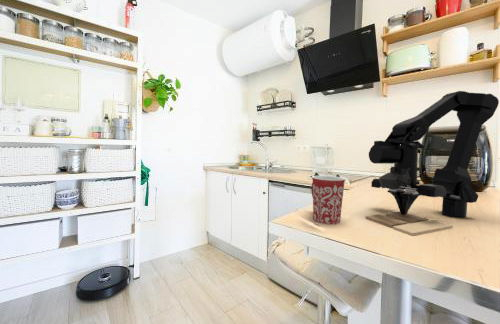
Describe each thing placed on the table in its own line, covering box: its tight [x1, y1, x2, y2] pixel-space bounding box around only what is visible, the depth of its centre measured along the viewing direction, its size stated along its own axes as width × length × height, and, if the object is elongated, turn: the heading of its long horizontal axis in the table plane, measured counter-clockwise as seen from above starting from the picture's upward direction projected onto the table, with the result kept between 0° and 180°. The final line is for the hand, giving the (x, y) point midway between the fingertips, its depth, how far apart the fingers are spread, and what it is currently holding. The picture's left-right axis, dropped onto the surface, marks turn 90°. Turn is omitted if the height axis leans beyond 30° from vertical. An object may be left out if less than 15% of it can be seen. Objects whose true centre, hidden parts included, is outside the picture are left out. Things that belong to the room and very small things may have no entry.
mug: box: [311, 175, 346, 227], centre depth 64 cm, size 13×9×14 cm
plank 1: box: [364, 213, 408, 229], centre depth 61 cm, size 6×8×1 cm
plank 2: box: [386, 211, 429, 224], centre depth 65 cm, size 6×8×1 cm
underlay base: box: [392, 219, 454, 237], centre depth 61 cm, size 16×14×2 cm
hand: (403, 214), depth 66 cm, fingers closed, pressing on plank 2
